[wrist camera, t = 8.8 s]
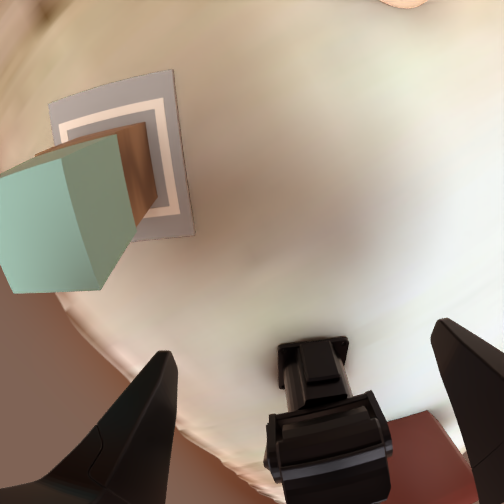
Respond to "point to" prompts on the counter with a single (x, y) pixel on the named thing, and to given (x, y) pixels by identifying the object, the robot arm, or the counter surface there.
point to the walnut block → (129, 164)
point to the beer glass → (404, 3)
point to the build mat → (159, 138)
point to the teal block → (65, 218)
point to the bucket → (427, 464)
